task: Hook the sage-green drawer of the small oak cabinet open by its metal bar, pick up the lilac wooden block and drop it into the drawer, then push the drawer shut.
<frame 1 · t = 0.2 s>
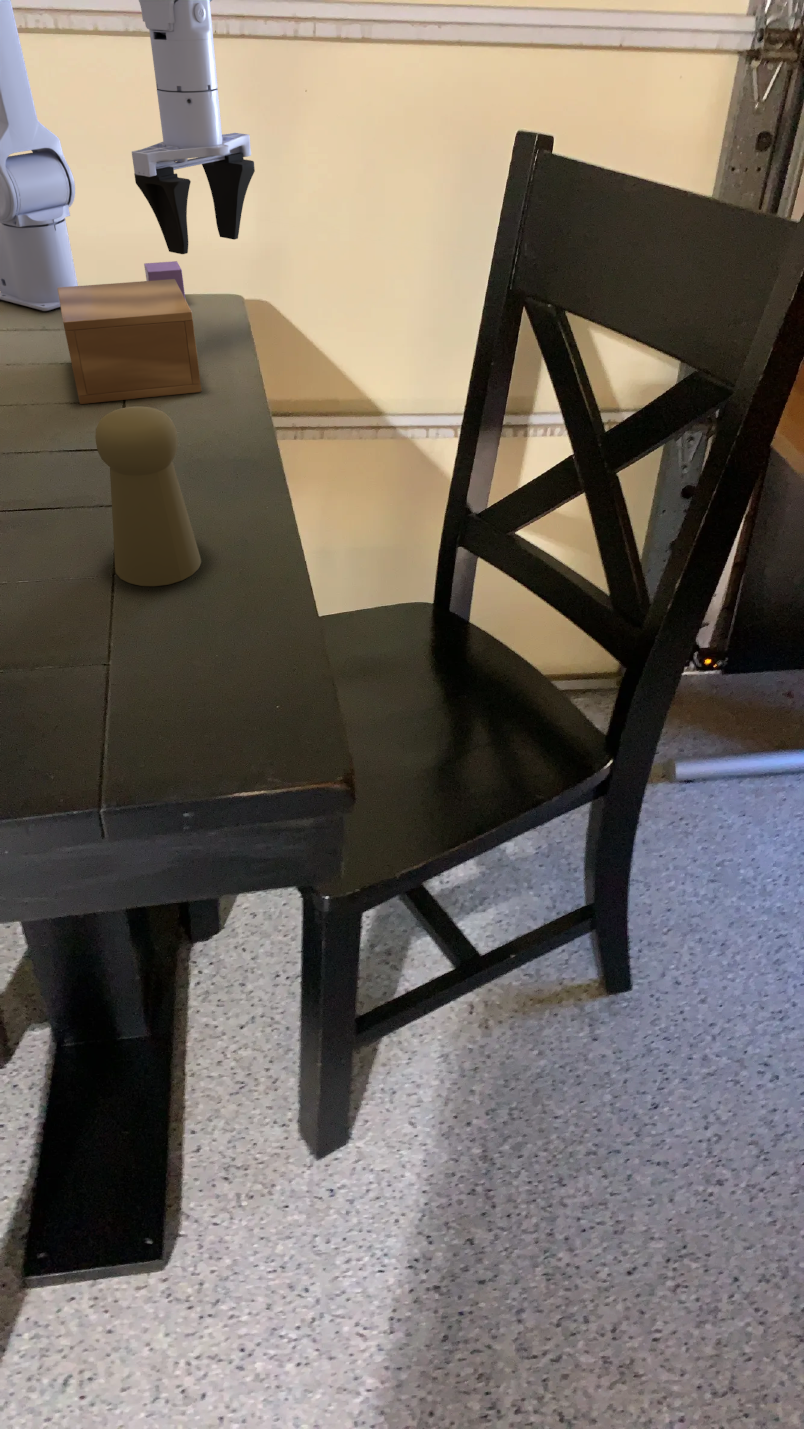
hand: (204, 244, 99), 10 cm above the table, tool pointing down, fingers open, 7 cm apart
tan pawn: (158, 566, 68), on the table
block: (167, 301, 117), on the table
cabinet: (135, 377, 96), on the table
drawer: (124, 326, 97), point 4 cm above the table, slide at 0.5 cm
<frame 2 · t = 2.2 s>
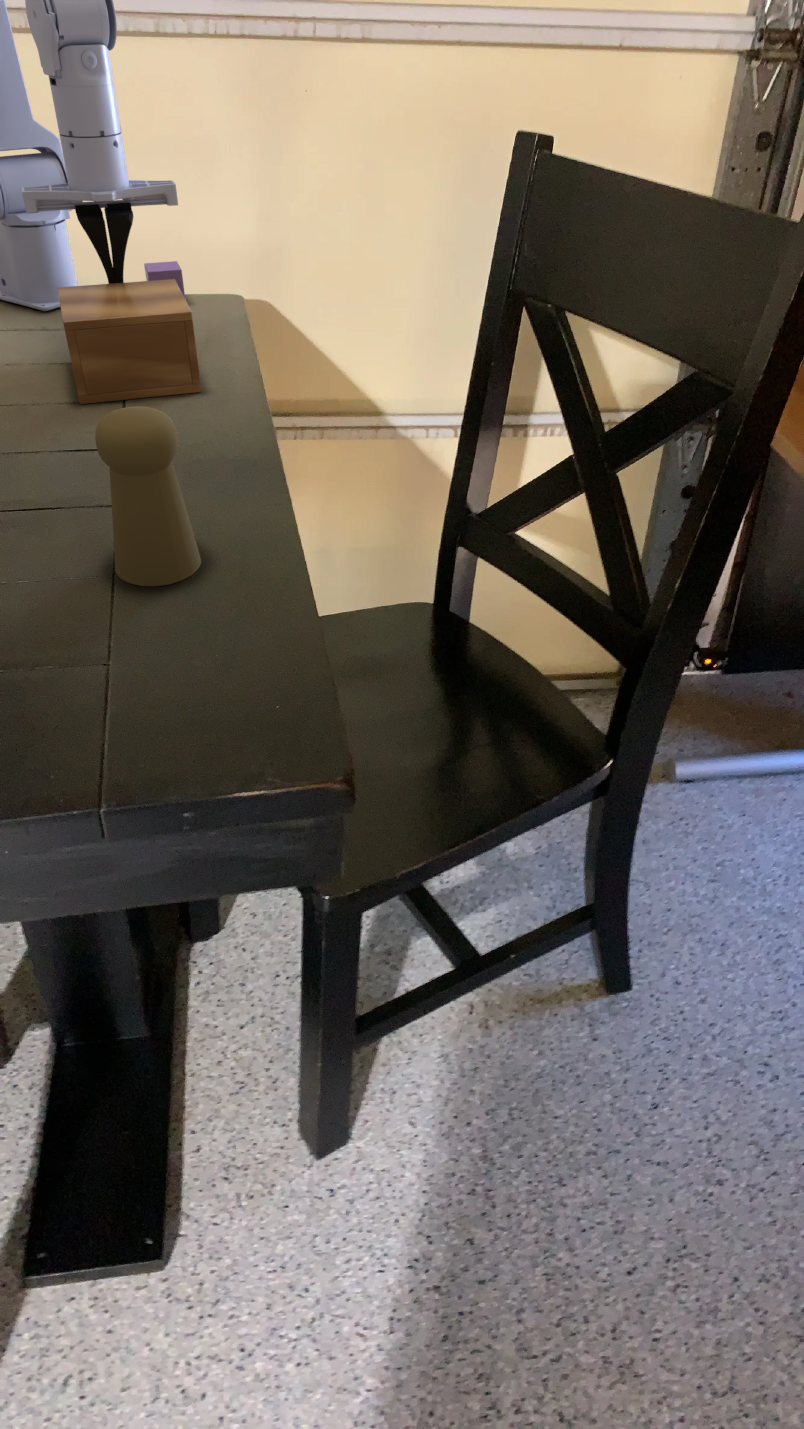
hand: (116, 285, 98), 7 cm above the table, tool pointing down, fingers closed, pressing on drawer
drawer: (124, 326, 97), point 4 cm above the table, slide at 0.5 cm, touching gripper
everything else where it was.
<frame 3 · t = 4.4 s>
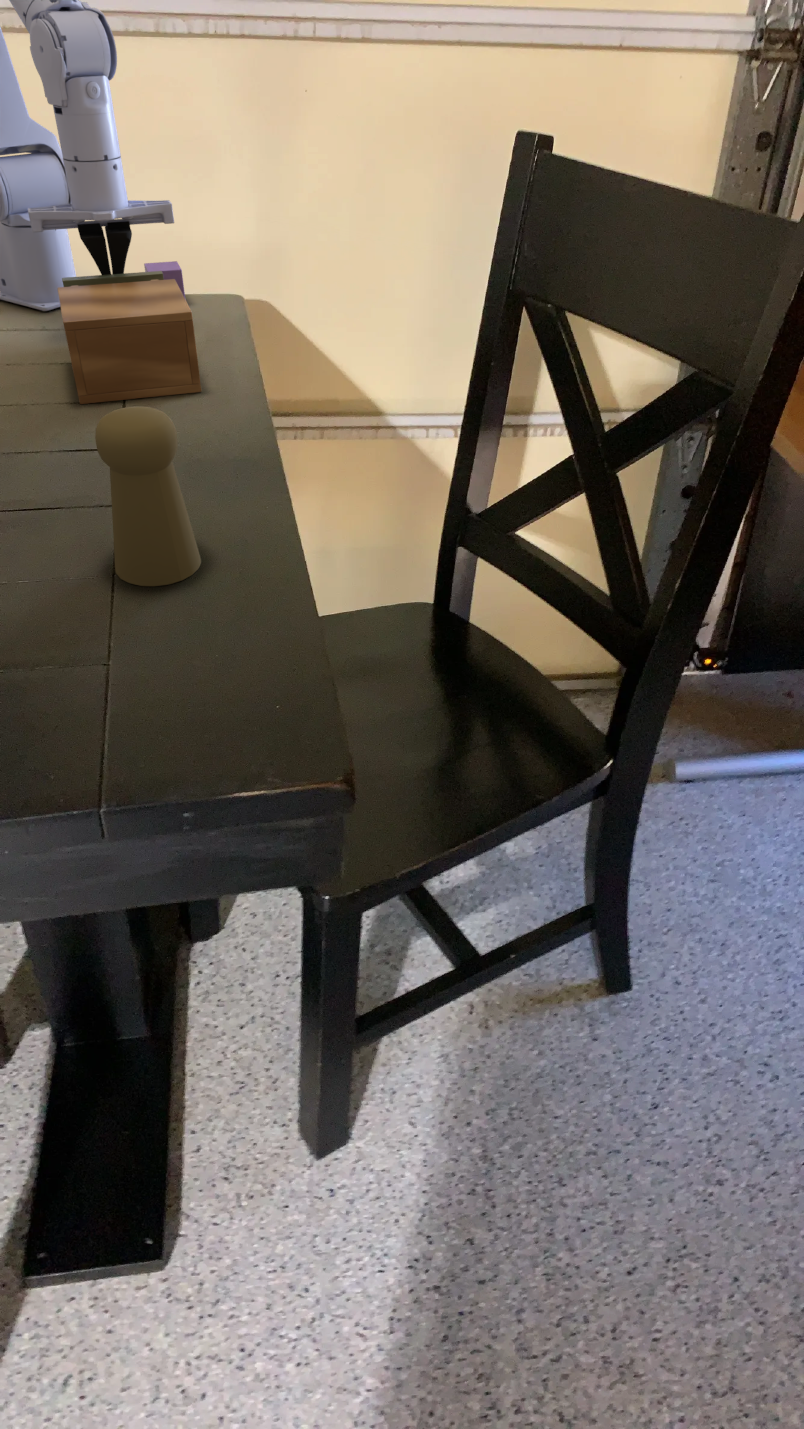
hand: (116, 298, 105), 4 cm above the table, tool pointing down, fingers closed, pressing on drawer
drawer: (119, 310, 101), point 4 cm above the table, slide at 5.9 cm, touching gripper
everything else where it was.
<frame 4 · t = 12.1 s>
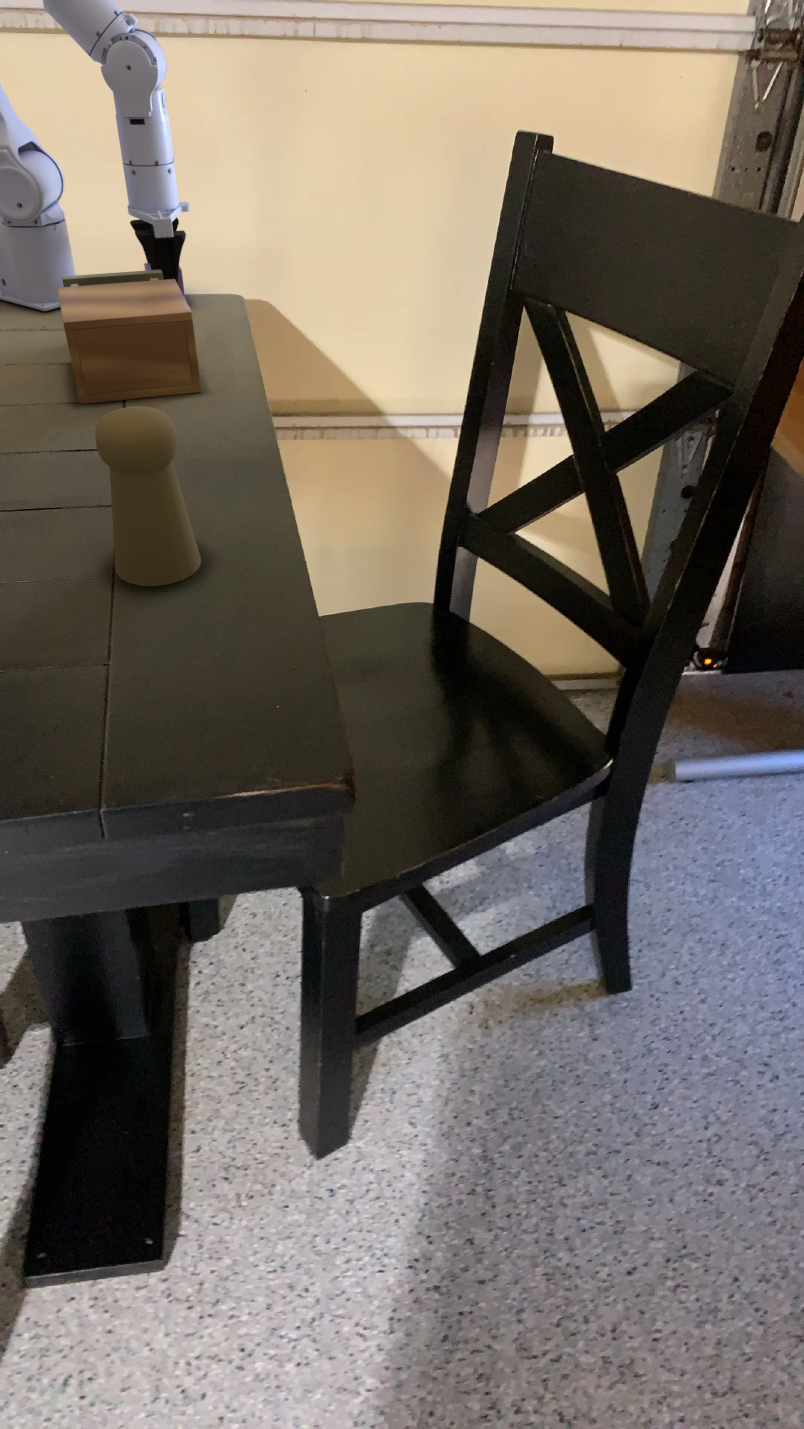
hand: (165, 288, 116), 1 cm above the table, tool pointing down, fingers closed on block, 4 cm apart
block: (167, 300, 117), on the table, touching gripper
drawer: (119, 309, 102), point 4 cm above the table, slide at 6.4 cm
everything else where it was.
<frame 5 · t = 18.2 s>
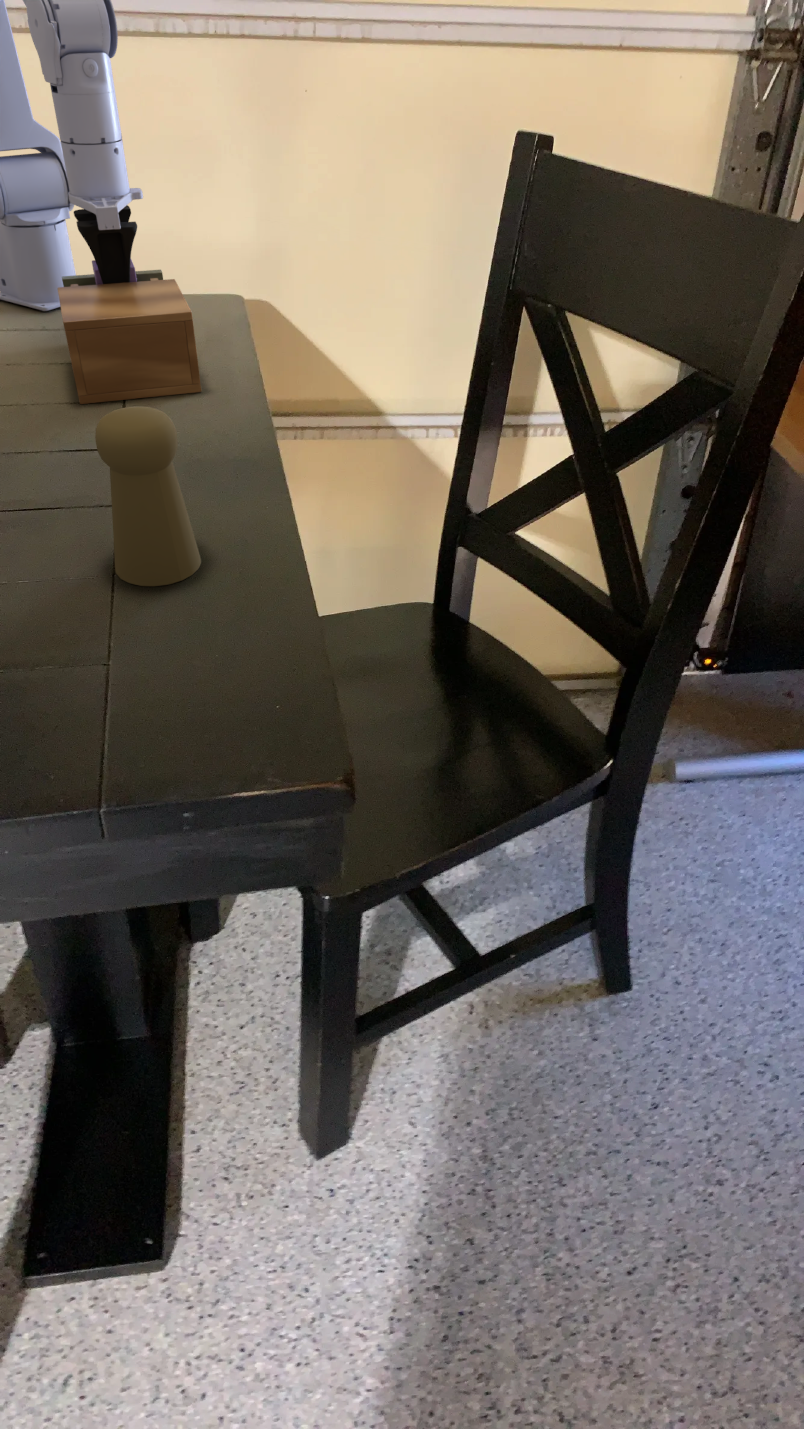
hand: (116, 290, 99), 6 cm above the table, tool pointing down, fingers closed on block, 4 cm apart
block: (119, 304, 100), point 5 cm above the table, touching gripper
everything else where it was.
when the fingers open (8 cm above the table, at t = 28.5 s): block drops 5 cm, resting on drawer.
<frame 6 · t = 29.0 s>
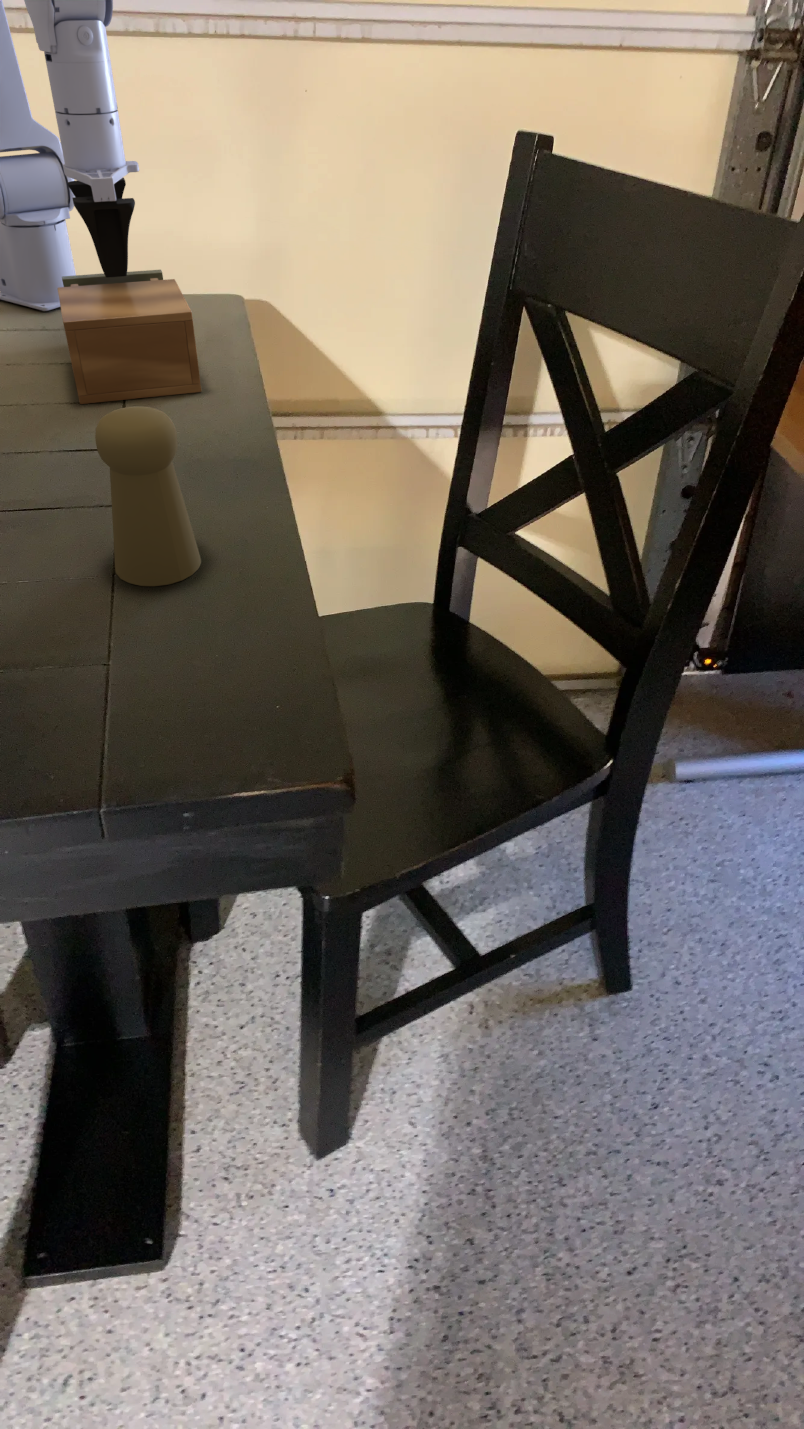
hand: (112, 266, 98), 8 cm above the table, tool pointing down, fingers open, 7 cm apart
block: (124, 330, 102), point 2 cm above the table, touching drawer
drawer: (119, 309, 102), point 4 cm above the table, slide at 6.4 cm, touching block
everything else where it was.
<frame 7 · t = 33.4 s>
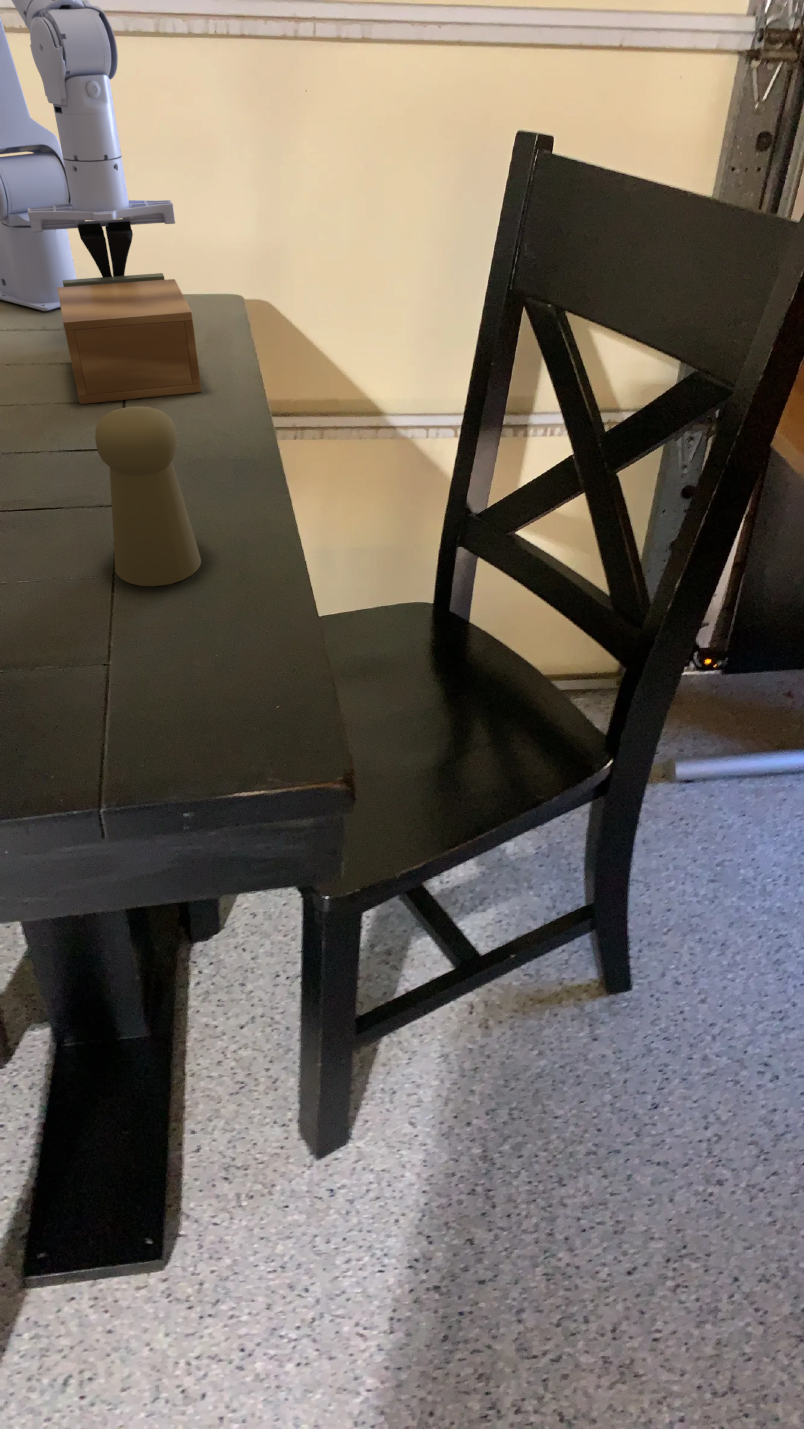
hand: (116, 299, 104), 4 cm above the table, tool pointing down, fingers closed, pressing on drawer
block: (125, 334, 101), point 2 cm above the table, touching drawer
drawer: (120, 313, 101), point 4 cm above the table, slide at 5.0 cm, touching block, gripper
everything else where it was.
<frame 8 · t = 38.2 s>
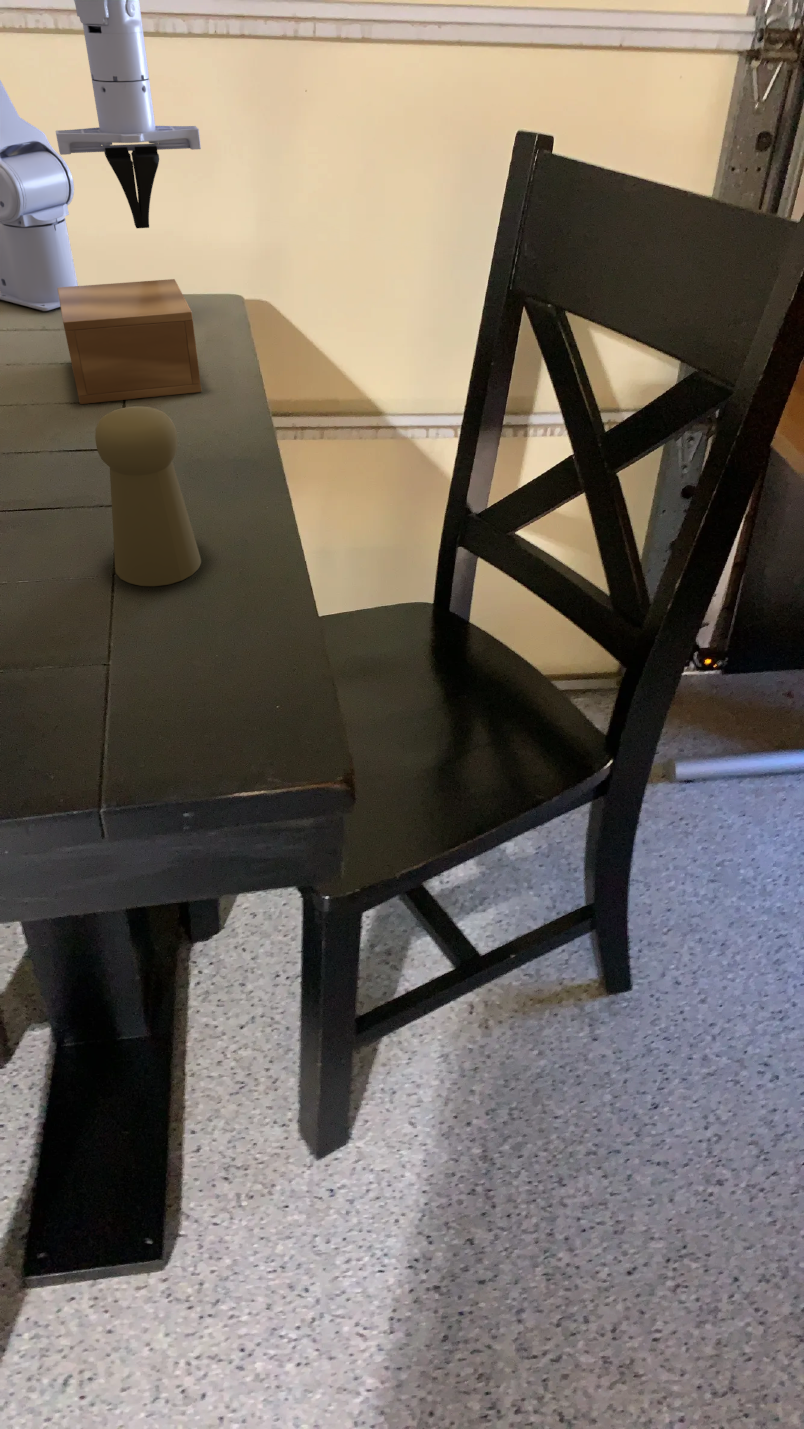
hand: (141, 226, 105), 10 cm above the table, tool pointing down, fingers closed
block: (130, 349, 97), point 2 cm above the table, touching drawer
drawer: (125, 327, 97), point 4 cm above the table, slide at 0.0 cm, touching block, cabinet
everything else where it was.
at the end: drawer pulled out 6.9 cm at the most during the clip, back to where it started at the end; block inside the target area in the cabinet (1.8 cm from its centre), point 2.0 cm above the cabinet's base; drawer slide at 0.0 cm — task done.
